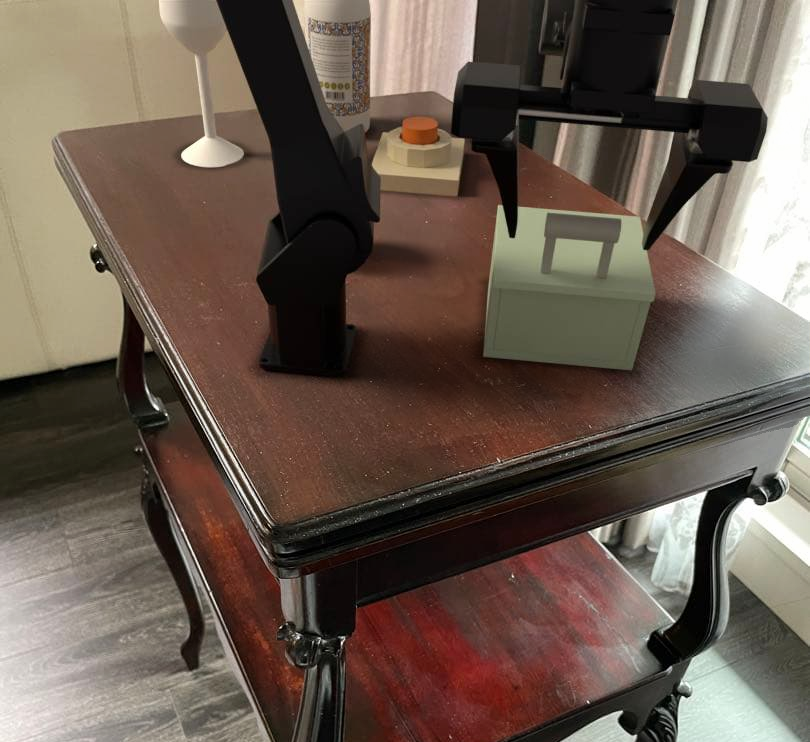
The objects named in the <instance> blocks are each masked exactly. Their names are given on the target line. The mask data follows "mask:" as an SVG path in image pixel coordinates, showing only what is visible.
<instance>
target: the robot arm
mask: <svg viewBox="0 0 810 742" xmlns="http://www.w3.org/2000/svg"><path fill="white" fill-rule="evenodd" d="M216 2H217V4H218V7H219V10H220V12H221V15H222V17H223V20H224V23H225V25H226V28H227V31H226V32H227V33H228V36H229V38H230V41H231V45H232V46H233V49H234V52H235V54H236V57H237V59H238V62H239V65H240V66H241V70H242V72H243V75H244V77H245V80H246V83H247V86H248V88H249V90H250V93H251V95H252V98H253V101H254V104H255V106H256V109H257V112H258V114H259V117H260V119H261V123H262V125H263V127H264V130H265V132H266V135H267V137H268V138H267V139H268V141H269V142H268V143H269V147H270V152H271V160H272V167H273V168H272V169H273V176H274V182H275V183H274V184H275V193H276V200H277V205H278V210H277V212H276V213H275V214H274V215H273V216H272V217H271V218H270V219H268V223H267V228H266V233H265V236H264V241H263V246H262V251H261V255H260V258H259V263H258V269H257V272H256V278H255V283H256V284H257V286H258V288H259V290H260V292H261V294H262V296H263V299H264V300H265V303H266V305H267V312H268V322H269V334H268V336H267V338H266V341H265V343H264V346H263V349H262V350H261V353H260V356H259V359H258V367H259V368H260V369H263V370H271V371H279V372H280V371H282V372H293V373H302V374H311V375H324V376H333V377H335V376H336V377H342V376H344V375H345V374H346V373H347V369H348V366H349V362H350V358H351V354H352V352H353V347H354V344H355V340H356V336H357V333H358V332H357V331H358V330H357V329H358V328H357V326H356V325H355V324H352V323H347V285H346V283H347V282H346V281H347V280H346V279H347V276H348V275H351V274H352V273H355V272H357V271H358V270H359V269H360V268H362V266H364V264H366V262H367V261H368V259H369V256H370V255H371V253H372V252H373V248H374V239H375V224H378V223H379V222H381V190H380V188H381V177H380V176H379V174H378V173H377V172H376V171H375V169H374V168H373V166H372V161H371V159H370V157H369V152H368V146H367V138H366V132H365V131H364V125H363V124H359V125H357V126H355V127H353V128H351V129H349V130H347V131H345V132H344V130H343V129H342V127H341V126H340V125H339V123H338V122H337V120H336V119H335V117H334V116H333V114H332V113H331V111H330V109H329V108H328V106H327V104H326V101H325V98H324V95H323V92H322V89H321V86H320V83H319V80H318V77H317V74H316V71H315V67H314V64H313V61H312V58H311V55H310V52H309V49H308V46H307V43H306V40H305V33H304V31H303V28H302V25H301V22H300V19H299V15H298V13H297V9H296V6H295V4H294V3H295V2H294V0H216ZM678 3H679V0H544V7H543V13H542V21H541V27H540V28H541V29H540V37H539V43H538V54H539V55H541V56H551V57H553V56H554V57H561V61H560V67H559V74H558V75H559V80H560V81H562V83H561V87H554V86H542V85H530V84H529V85H528V84H521V68H522V66H521V65H515V64H504V63H492V62H491V63H490V62H479V61H478V62H477V61H467V62H466V63H465V64H464V65H463V66H462V67H461V68H460V69H459V71H457V76H456V81H455V86H454V93H453V100H452V102H453V103H452V110H451V112H452V113H451V125H450V135H452V136H455V137H456V138H461V139H468V140H469V139H470V146H469V147H470V148H469V149H470V150H471V151H472V152H473V153H476V154H483V155H485V157H486V158H487V161H488V164H489V166H490V169H491V172H492V175H493V178H494V180H495V183H496V186H497V189H498V193H499V195H500V200H501V201H500V202H501V205H503V210H504V215H505V219H506V224H507V229H508V233H509V238H515V236H516V230H517V224H518V207H519V133H520V130H519V126H520V124H519V123H520V120H521V121H522V120H523V121H532V122H533V121H535V122H548V123H558V124H559V123H560V124H572V125H583V126H595V127H607V128H618V129H632V130H642V131H643V130H644V131H657V132H668V133H673V134H672V140H671V143H670V144H671V145H670V149H669V154H668V159H667V162H666V166H665V167H664V171H663V174H662V177H661V179H660V183H659V185H658V188H657V190H656V193H655V196H654V199H653V202H652V204H651V207H650V210H649V213H648V215H647V218H646V223H645V227H644V230H643V233H644V235H643V240H642V248H643V250H647V251H649V250H650V249H651V248H652V247H653V245H654V244H655V243H656V241H658V239H659V238H660V236H661V235H662V234H663V233H664V231H665V230H666V229H667V228H668V226H669V225H670V224H671V222H672V221H673V220H674V219H675V217H676V216H677V215H678V214H679V212H680V211H681V210H682V209H683V207H684V206H685V205H686V204H687V203H688V202H689V201H690V200H692V198H693V197H694V196H695V195H696V194H697V193H698V192H699V191H700V190H701V189H702V188H703V186H705V184H706V183H708V182H709V180H711V179H712V177H714V175H716V174H720V175H721V174H722V175H723V174H725V175H726V174H729V173H730V172H731V171H732V168H733V165H734V162H741V163H743V162H744V163H751V162H754V161H756V160H758V158H759V155H760V152H761V149H762V146H763V143H764V139H765V137H766V134H767V131H768V130H767V129H768V119H769V117H768V115H767V114H766V112H765V110H764V108H763V106H762V104H761V102H760V101H759V99H758V97H757V95H756V93H755V91H754V90H753V88H752V87H751V84H750V83H743V82H729V81H717V80H703V79H695V80H693V83H692V84H691V86H690V88H689V90H688V94H687V97H678V96H666V95H657V93H658V87H659V84H660V79H661V75H662V71H663V67H664V63H665V59H666V54H667V49H668V46H669V42H670V37H671V33H672V30H673V26H674V21H675V18H676V11H677V9H678Z"/></svg>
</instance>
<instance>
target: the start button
mask: <svg viewBox="0 0 810 742" xmlns="http://www.w3.org/2000/svg"><path fill="white" fill-rule="evenodd" d="M401 127H402V141H403V142H406V143H409V144H413V145H430V144H434V143H436V142H437V134H438V129H439V123H438V121H436V119H433V118H431V117H426V116H410V117H407V118H404V119H403V121H402V126H401Z"/></svg>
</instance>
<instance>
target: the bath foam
mask: <svg viewBox="0 0 810 742" xmlns="http://www.w3.org/2000/svg"><path fill="white" fill-rule="evenodd" d="M303 20H304V21H303V22H304V37H305V40H306V43H307V46H308V49H309V52H310V55H311V58H312V61H313V64H314V67H315V71H316V74H317V77H318V80H319V83H320V86H321V89H322V92H323V95H324V98H325V101H326V104H327V106H328V108H329V109H330V111H331V113H332V114H333V116H334V117H335V119H336V120H337V122H338V123H339V125H340V126H341V127H342V129H343V130H344V132H345V131H347V130H349V129H351V128H353V127H355V126H357V125H359V124H363V125H364V131H365V133H367V132H368V130H369V129H370V125H371V52H372V51H371V44H372V43H371V40H372V39H371V38H372V35H371V31H372V29H371V28H372V27H371V26H372V21H371V20H372V14H371V3H370V0H304V5H303Z"/></svg>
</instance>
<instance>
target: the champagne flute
mask: <svg viewBox="0 0 810 742" xmlns="http://www.w3.org/2000/svg"><path fill="white" fill-rule="evenodd" d="M158 7H159V17H160V19H161V22H162V23H163V25H164V28H165V29H166V30H167V31H168V32H169V33H170V35H171V36H172V38H174V39H175V40H176V41H177V42H178V43H180V44H181V46H183V47H184V48H185V50H187V51H189V52H190V53H192V54H194V60H195V67H196V68H195V69H196V74H197V81H198V82H197V83H198V90H199V99H200V106H201V115H202V122H203V130H204V136H202V137H201V138H200V139H198V140H197V141H195V142H194V143H193V144H191V145H190V146H188V147H187V148H185V149H184V150H182V152H181V155H180V157H181V159H182V160H183V162H185V163H187V164H189V165H191V166H195V167H200V168H221V167H226V166H227V165H231V164H234V163H237V162H239V161H240V160H241V159H243V157H244V155H245V152H244V150H243V149H242V148H241V147H240V146H238V145H236V144H234V143H233V142H230V141H228V140H226V139H225V138H223V137H220V136H219V135H217V128H216V119H215V111H214V102H213V94H212V86H211V77H210V69H209V61H208V59H209V58H208V54H209V53H210V52H212V51H213V50H214V49H215V48H216V47H217V45H218V44H219V42H220V41H221V40H222V39H223V37H225V35H226V33H227V32H228V31H227V28H226V25H225V23H224V20H223V17H222V15H221V12H220V10H219V7H218V4H217V2H216V0H158Z"/></svg>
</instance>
